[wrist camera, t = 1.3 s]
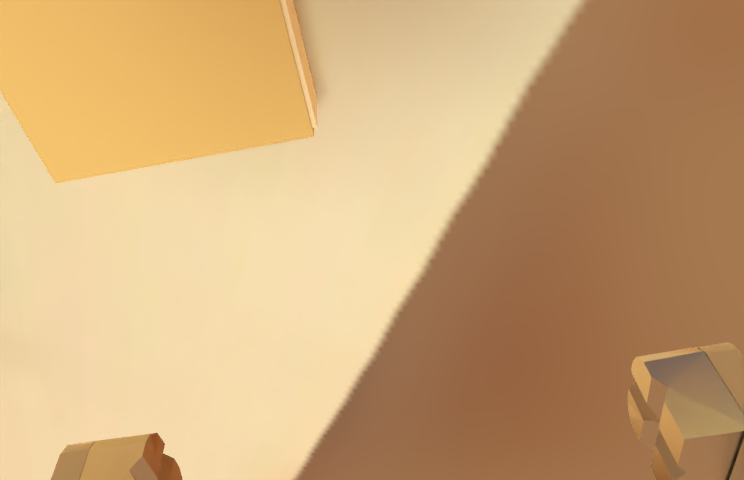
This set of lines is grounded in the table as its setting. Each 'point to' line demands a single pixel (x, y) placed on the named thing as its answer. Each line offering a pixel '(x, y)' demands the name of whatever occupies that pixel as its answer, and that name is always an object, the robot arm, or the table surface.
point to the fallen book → (153, 80)
